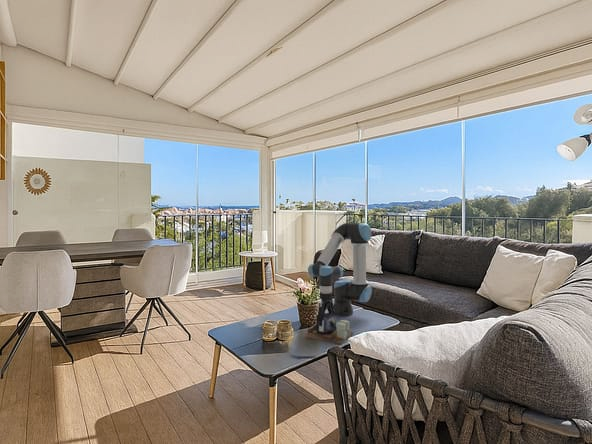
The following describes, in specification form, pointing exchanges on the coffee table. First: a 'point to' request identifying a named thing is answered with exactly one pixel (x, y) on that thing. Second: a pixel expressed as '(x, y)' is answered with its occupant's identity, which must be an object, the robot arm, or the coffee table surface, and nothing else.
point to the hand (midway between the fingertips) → (326, 327)
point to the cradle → (336, 337)
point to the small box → (327, 323)
